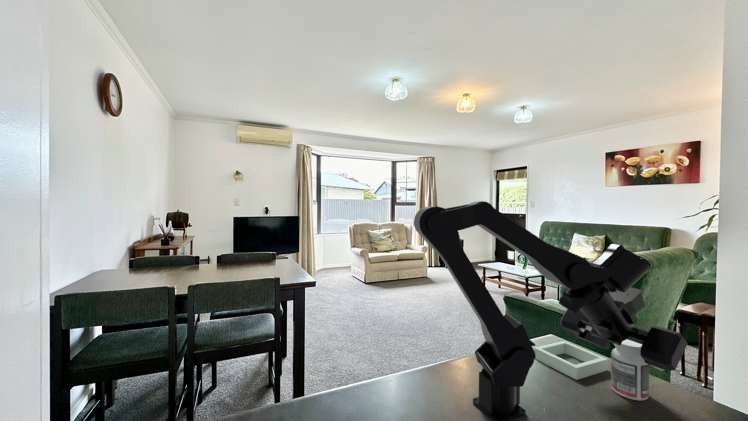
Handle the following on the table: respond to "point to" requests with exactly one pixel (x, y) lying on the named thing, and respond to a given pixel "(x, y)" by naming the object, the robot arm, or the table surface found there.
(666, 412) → the table surface
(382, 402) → the table surface
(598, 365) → the bottle holder
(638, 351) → the pill bottle
